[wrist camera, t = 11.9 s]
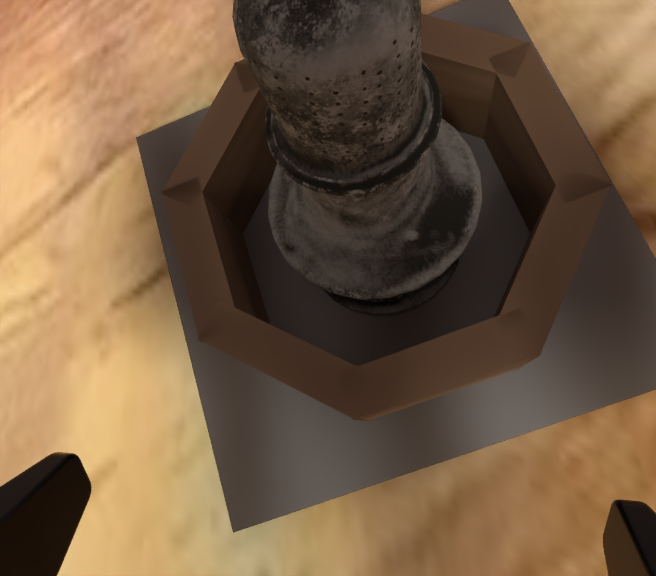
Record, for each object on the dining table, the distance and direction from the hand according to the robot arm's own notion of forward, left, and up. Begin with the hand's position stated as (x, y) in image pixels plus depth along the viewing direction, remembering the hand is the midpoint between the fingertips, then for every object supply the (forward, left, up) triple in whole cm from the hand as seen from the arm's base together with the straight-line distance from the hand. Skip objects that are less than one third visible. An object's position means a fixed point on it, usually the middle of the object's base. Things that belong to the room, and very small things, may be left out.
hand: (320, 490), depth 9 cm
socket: (+3, +7, -8) cm, 11 cm away
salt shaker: (+3, +7, -8) cm, 11 cm away
